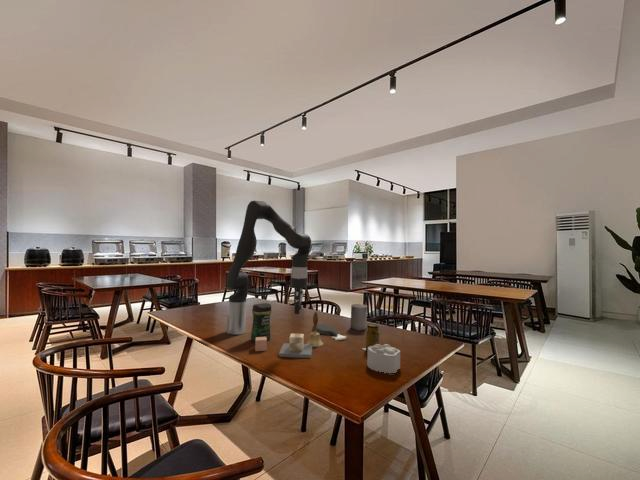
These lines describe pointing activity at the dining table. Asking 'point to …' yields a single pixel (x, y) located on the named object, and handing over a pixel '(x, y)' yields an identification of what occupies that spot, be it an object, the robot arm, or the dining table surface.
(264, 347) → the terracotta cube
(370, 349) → the lumpy-topped squat cylinder
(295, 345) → the birch cube
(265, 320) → the coffee jar
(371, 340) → the condiment
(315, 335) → the hand bell
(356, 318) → the pillar candle
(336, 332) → the spray bottle
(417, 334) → the dining table surface
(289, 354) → the slate tile
